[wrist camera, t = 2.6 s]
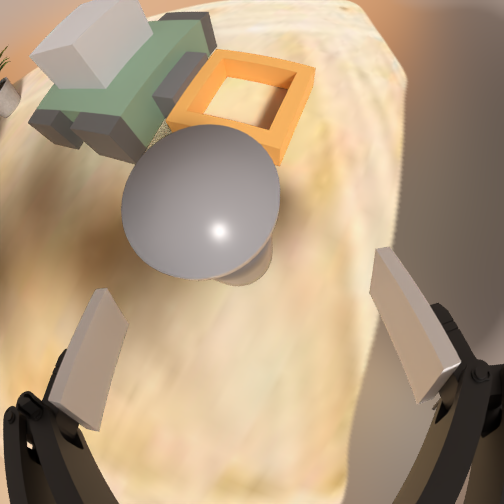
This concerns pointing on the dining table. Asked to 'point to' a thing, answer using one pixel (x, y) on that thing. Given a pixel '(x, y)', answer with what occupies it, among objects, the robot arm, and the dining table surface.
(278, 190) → the grey flared cylinder
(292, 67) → the green corner-block plate
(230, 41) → the dining table surface
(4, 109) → the house plant
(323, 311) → the dining table surface
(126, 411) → the dining table surface
